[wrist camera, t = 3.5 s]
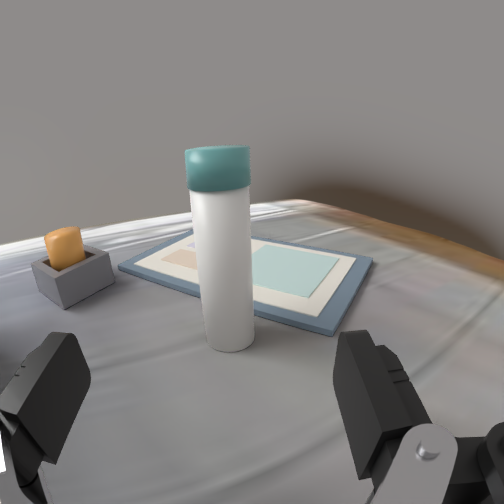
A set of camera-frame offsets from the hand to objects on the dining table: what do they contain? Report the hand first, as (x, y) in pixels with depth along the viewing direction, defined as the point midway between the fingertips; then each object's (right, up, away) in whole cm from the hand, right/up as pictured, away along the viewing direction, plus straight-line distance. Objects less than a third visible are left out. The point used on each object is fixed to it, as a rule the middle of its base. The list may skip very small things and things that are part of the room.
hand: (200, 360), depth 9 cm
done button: (-16, +1, +18) cm, 24 cm away
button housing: (-16, 0, +19) cm, 24 cm away
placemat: (+1, +2, +22) cm, 22 cm away
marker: (0, -2, +12) cm, 12 cm away
